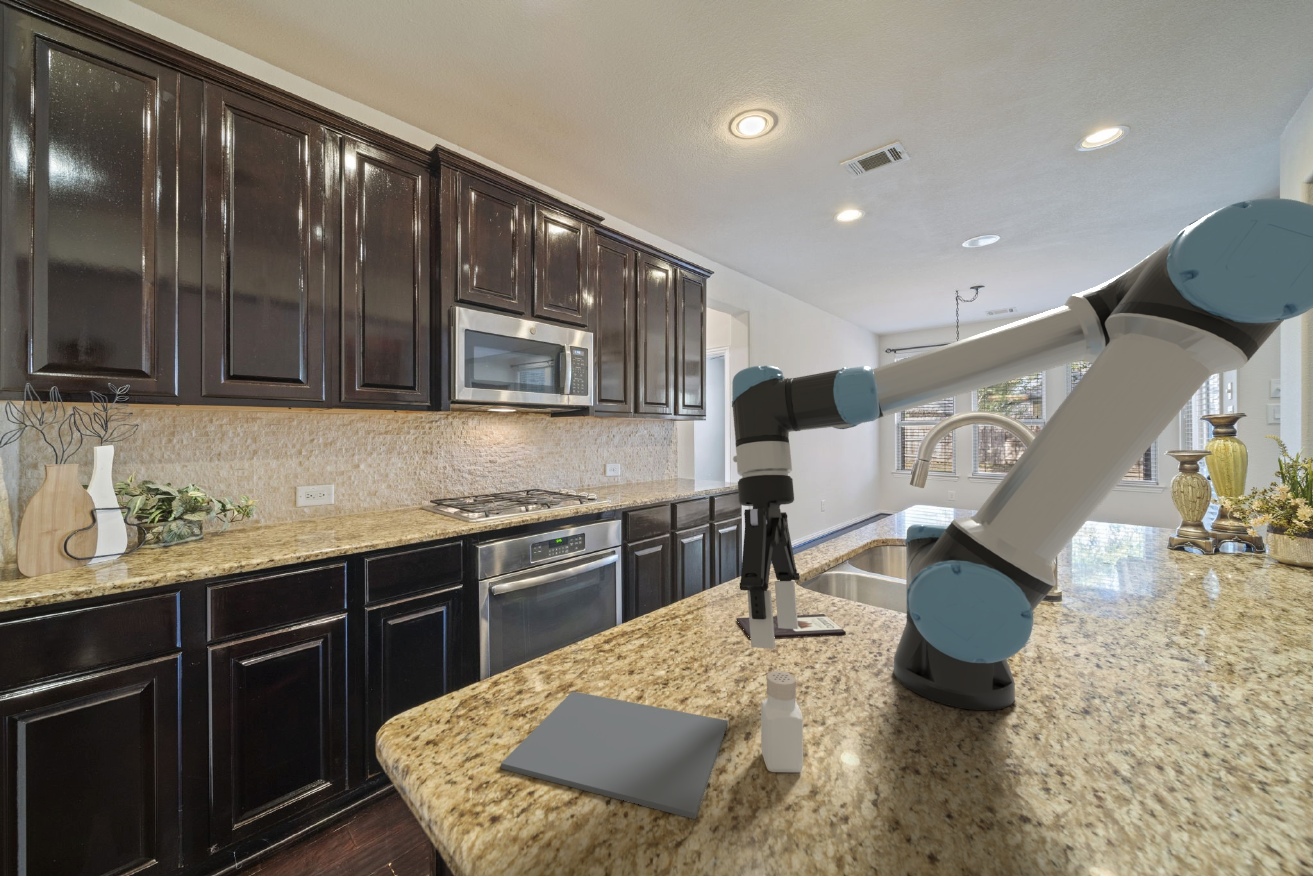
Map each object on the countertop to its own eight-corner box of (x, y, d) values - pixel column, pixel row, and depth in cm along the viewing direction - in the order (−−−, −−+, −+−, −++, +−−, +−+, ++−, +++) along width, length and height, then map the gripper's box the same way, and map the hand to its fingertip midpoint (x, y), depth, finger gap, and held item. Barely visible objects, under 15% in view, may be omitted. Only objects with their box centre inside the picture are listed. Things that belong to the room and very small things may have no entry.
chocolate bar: (736, 618, 96) (823, 614, 98) (736, 622, 96) (823, 618, 98) (750, 636, 87) (845, 631, 89) (750, 642, 87) (845, 637, 89)
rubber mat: (727, 725, 62) (727, 720, 62) (695, 819, 46) (695, 813, 46) (572, 695, 69) (572, 691, 69) (500, 768, 54) (500, 763, 54)
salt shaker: (760, 750, 57) (759, 668, 57) (795, 751, 56) (794, 669, 56) (766, 774, 53) (766, 686, 53) (804, 775, 52) (804, 686, 52)
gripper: (761, 486, 81) (771, 620, 77) (707, 468, 59) (717, 655, 55) (808, 482, 78) (821, 623, 74) (768, 462, 56) (784, 660, 52)
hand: (776, 637), depth 64 cm, fingers open, 13 cm apart
